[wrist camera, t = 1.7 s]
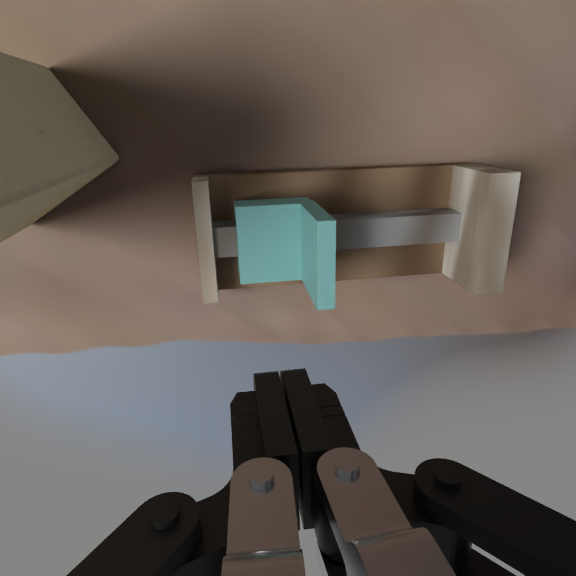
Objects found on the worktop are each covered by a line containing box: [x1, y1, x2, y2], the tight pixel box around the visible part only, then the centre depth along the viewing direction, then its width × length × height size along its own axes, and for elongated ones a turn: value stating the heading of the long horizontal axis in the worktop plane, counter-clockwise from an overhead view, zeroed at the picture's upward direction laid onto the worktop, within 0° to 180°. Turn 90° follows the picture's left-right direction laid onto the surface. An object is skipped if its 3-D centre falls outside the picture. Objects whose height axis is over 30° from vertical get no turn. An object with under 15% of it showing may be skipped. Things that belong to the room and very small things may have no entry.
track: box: [191, 162, 521, 304], centre depth 31 cm, size 20×8×6 cm, turn 92°
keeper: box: [234, 197, 336, 310], centre depth 28 cm, size 5×5×8 cm
